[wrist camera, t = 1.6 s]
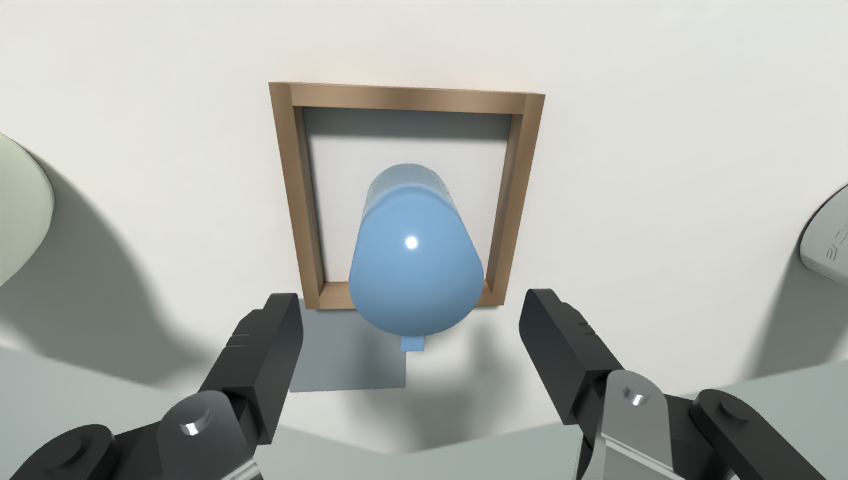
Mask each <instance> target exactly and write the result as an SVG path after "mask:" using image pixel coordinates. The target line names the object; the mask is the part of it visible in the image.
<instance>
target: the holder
mask: <svg viewBox="0 0 848 480" xmlns="http://www.w3.org/2000/svg"><path fill="white" fill-rule="evenodd" d="M268 84H269V90H270V96H271V102H272V108H273V114H274V120H275V126H276V132H277V138H278V144H279V150H280V157H281V163H282V169H283V175H284V181H285V187H286V193H287V199H288V205H289V211H290V217H291V223H292V229H293V236H294V242H295V248H296V254H297V260H298V266H299V272H300V278H301V284H302V290H303V296H304V302H305V308H306V310H307V309H354V308H355V306H354V304H353V302H352V299H351V296H350V292H349V282H324V277H323V269H322V261H321V253H320V245H319V237H318V229H317V221H316V212H315V204H314V196H313V188H312V180H311V172H310V164H309V156H308V148H307V140H306V132H305V124H304V116H303V108H302V106H315V107H342V108H369V109H395V110H422V111H449V112H476V113H503V114H512V118H511V124H510V130H509V136H508V143H507V149H506V155H505V162H504V168H503V174H502V180H501V187H500V193H499V199H498V206H497V212H496V218H495V224H494V231H493V237H492V243H491V250H490V256H489V262H488V268H487V275H486V280H484V283H483V289H482V293H481V295H480V298H479V300H478V302H477V303H476V305H475V306H495V305H504V301H505V296H506V291H507V286H508V281H509V275H510V270H511V265H512V260H513V255H514V250H515V245H516V240H517V235H518V230H519V225H520V220H521V215H522V210H523V205H524V200H525V195H526V190H527V185H528V180H529V175H530V170H531V165H532V160H533V155H534V150H535V145H536V140H537V135H538V130H539V125H540V120H541V115H542V110H543V105H544V100H545V94H538V93H526V92H503V91H480V90H458V89H435V88H412V87H389V86H366V85H343V84H321V83H298V82H269V83H268Z"/></svg>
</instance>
